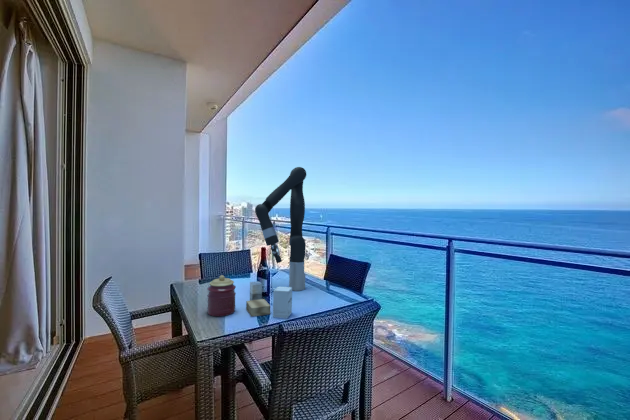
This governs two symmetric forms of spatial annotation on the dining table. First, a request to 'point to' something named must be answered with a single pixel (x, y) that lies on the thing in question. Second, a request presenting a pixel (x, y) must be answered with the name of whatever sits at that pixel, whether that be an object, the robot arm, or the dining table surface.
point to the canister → (221, 297)
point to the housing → (255, 290)
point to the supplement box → (282, 302)
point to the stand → (257, 307)
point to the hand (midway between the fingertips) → (279, 262)
